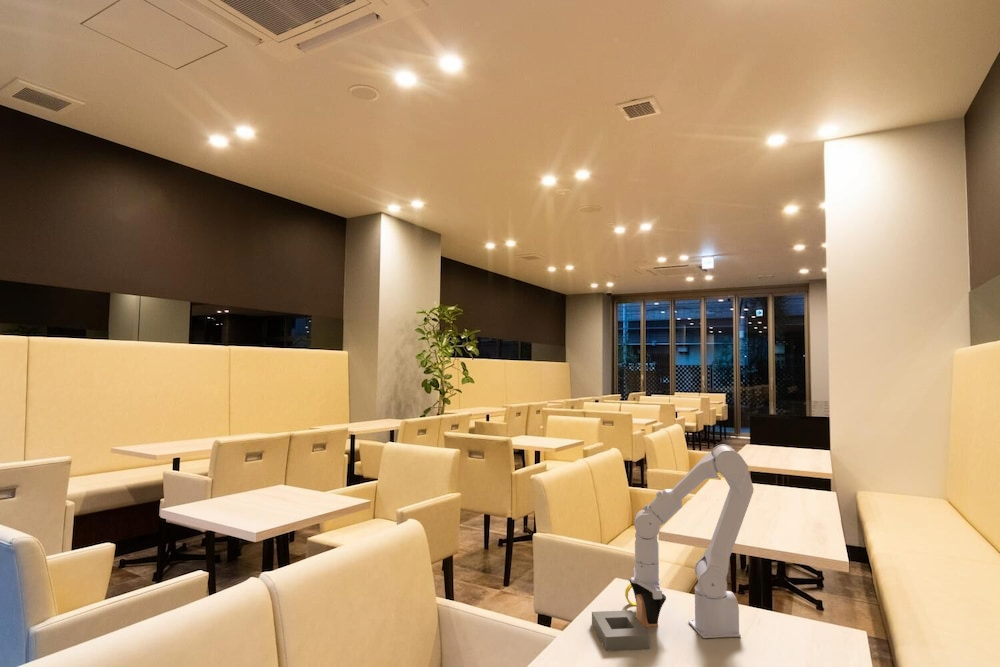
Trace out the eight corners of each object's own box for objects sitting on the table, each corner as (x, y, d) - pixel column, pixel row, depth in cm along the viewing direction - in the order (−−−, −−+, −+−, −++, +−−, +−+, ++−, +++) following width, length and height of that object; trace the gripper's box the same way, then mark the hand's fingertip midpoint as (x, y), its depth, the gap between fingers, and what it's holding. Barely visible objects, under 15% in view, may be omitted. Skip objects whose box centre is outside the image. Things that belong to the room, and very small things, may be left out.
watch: (628, 608, 142) (626, 585, 142) (624, 603, 145) (623, 581, 145) (650, 606, 142) (648, 583, 143) (646, 601, 145) (645, 579, 145)
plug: (652, 618, 136) (651, 593, 136) (658, 625, 132) (657, 600, 132) (636, 618, 136) (636, 594, 136) (642, 626, 132) (642, 601, 132)
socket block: (631, 622, 134) (631, 610, 134) (649, 648, 122) (649, 635, 122) (591, 624, 133) (591, 611, 133) (605, 650, 121) (605, 637, 121)
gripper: (621, 550, 141) (622, 603, 141) (641, 572, 127) (641, 631, 126) (648, 549, 142) (648, 602, 142) (670, 571, 128) (670, 630, 127)
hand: (647, 616), depth 134 cm, fingers open, 6 cm apart
